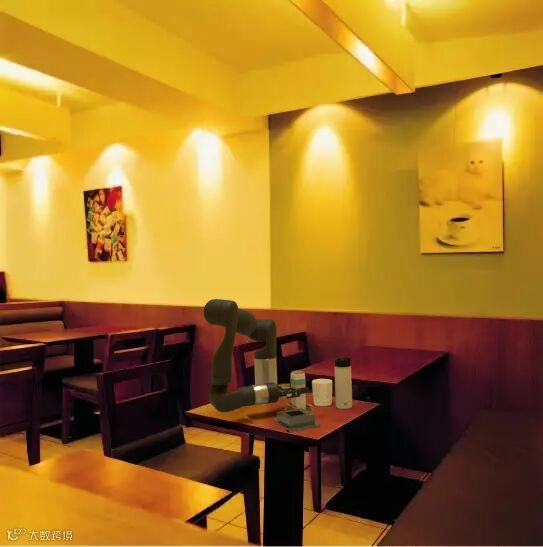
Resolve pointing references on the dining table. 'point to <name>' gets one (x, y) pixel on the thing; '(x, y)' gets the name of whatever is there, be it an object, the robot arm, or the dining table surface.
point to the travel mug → (343, 383)
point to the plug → (298, 382)
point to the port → (296, 420)
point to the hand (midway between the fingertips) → (303, 388)
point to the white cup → (322, 392)
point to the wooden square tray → (289, 407)
